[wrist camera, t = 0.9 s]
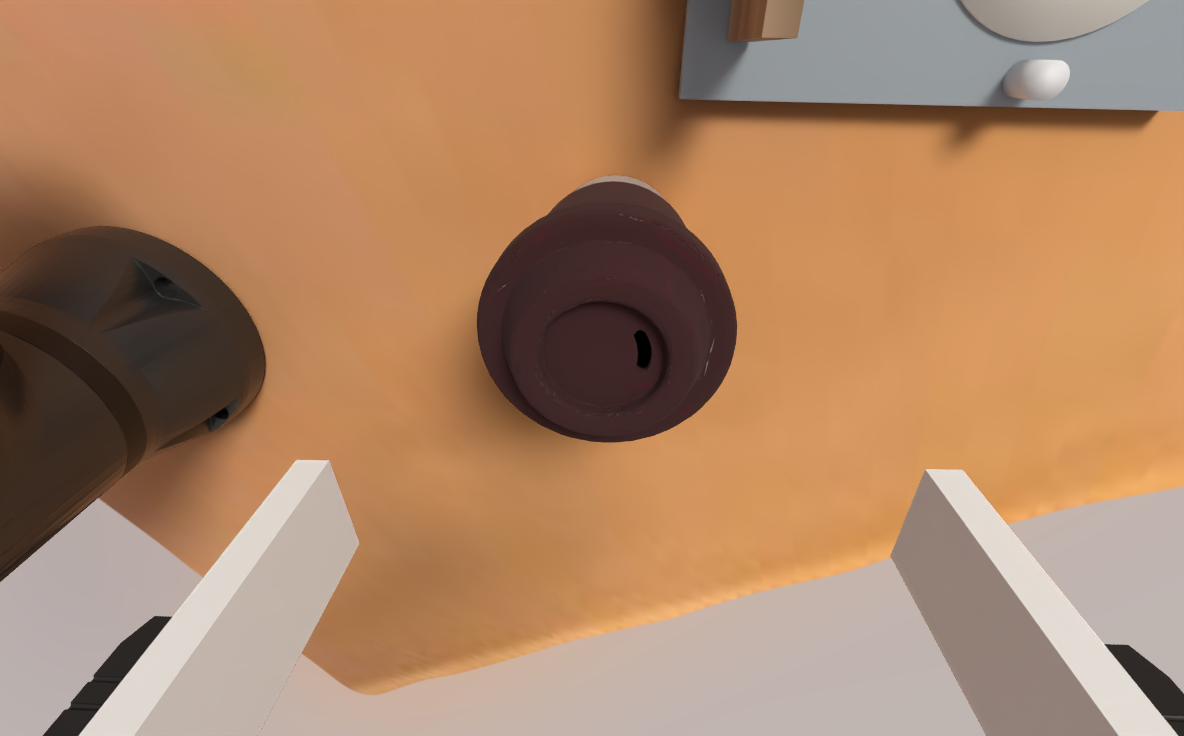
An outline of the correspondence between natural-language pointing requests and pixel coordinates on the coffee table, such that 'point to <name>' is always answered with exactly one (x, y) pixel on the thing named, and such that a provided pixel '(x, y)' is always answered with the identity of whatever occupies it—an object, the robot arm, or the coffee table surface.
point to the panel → (764, 20)
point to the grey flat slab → (948, 54)
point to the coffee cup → (607, 316)
